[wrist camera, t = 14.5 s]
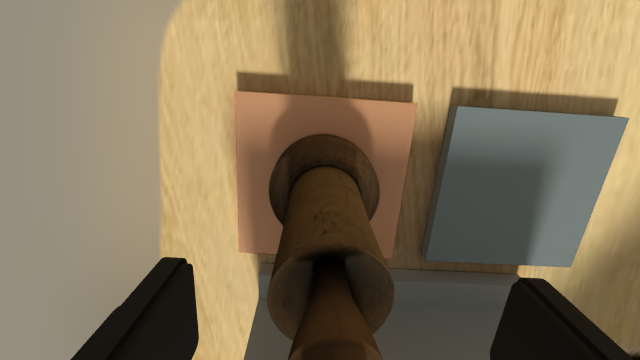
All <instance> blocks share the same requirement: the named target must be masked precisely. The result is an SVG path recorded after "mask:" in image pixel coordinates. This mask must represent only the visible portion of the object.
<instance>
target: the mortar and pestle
mask: <svg viewBox="0 0 640 360" xmlns="http://www.w3.org/2000/svg"><path fill="white" fill-rule="evenodd" d="M379 198H380V186H379V181H378V177H377V174H376V172H375V170H374V168H373V166H372V165H371V163H370V161H369V159H368V158H367V156H366V155H365V154H364V153H363V151H362V150H361V149H359V148H358V147H357V146H356V145H355V144H353V143H352V142H350V141H348V140H347V139H344V138H342V137H339V136H336V135H331V134H315V135H310V136H307V137H304V138H301V139H299V140H298V141H296V142H294V143H293V144H291V145H290V146H289V147H288V148H287V149H286V150H285V151H284V152H283V153H282V154H281V156H280V157H279V159H278V161H277V163H276V165H275V167H274V169H273V172H272V174H271V178H270V182H269V199H270V204H271V207H272V210H273V212H274V214H275V216H276V218H277V219H278V221H279V222H280V223H281V224H282V225H283V230H282V234H281V239H280V243H279V247H278V251H277V255H276V259H275V263H274V267H273V271H272V275H271V279H270V283H269V287H268V293H267V306H268V311H269V314H270V317H271V319H272V321H273V322H274V324H275V325H276V326H277V328H278V329H279V330H280V331H281V332H282V333H283V334H284V335H285V336H286V337H287V338H289V339H290V340H292V341H293V343H292V346H291V349H290V353H289V357H288V360H383V359H382V356H381V354H380V351H379V348H378V346H377V343H376V341H375V339H374V337H373V334H374V333H375V332H376V331H377V330H378V329H379V328H380V327H381V326H382V325H383V324H384V323H385V321H386V320H387V318H388V316H389V314H390V312H391V310H392V306H393V302H394V283H393V279H392V277H391V275H390V272H389V270H388V267H387V265H386V262H385V260H384V257H383V255H382V252H381V250H380V247H379V245H378V242H377V240H376V237H375V234H374V232H373V229H372V227H371V224H370V221H371V219H372V218H373V216H374V214H375V212H376V210H377V207H378V204H379Z"/></svg>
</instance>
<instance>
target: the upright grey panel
mask: <svg viewBox="0 0 640 360" xmlns="http://www.w3.org/2000/svg"><path fill="white" fill-rule="evenodd" d="M273 267H274V264H273V263H262V266H261V270H260V273H259V300H258V304H257V308H256V312H255V316H254V320H253V324H252V328H251V332H250V336H249V340H248V345H247V349H246V353H245V357H244V360H288V357H289V353H290V349H291V346H292V343H293V341H292V340H290V339H289V338H287V337H286V336H285V335H284V334H283V333H282V332H281V331H280V330H279V329H278V328H277V326H276V325H275V324H274V322H273V321H272V319H271V317H270V314H269V311H268V306H267V293H268V287H269V283H270V279H271V275H272V271H273ZM388 270H389V272H390V275H391V277H392V279H393V283H394V302H393V306H392V310H391V312H390V314H389V316H388V318H387V320H386V321H385V323H384V324H383V325H382V326H381V327H380V328H379V329H378V330H377V331H376V332H375V333H374V334H373V337H374V339H375V341H376V343H377V346H378V348H379V351H380V354H381V356H382V359H383V360H490V349H491V346H492V343H493V340H494V337H495V334H496V331H497V328H498V325H499V322H500V319H501V316H502V313H503V310H504V307H505V304H506V301H507V298H508V295H509V292H510V289H511V286H512V284H514V283H516V282H517V280H518V279H520V278H521V277H520V276H519V275H517V274H499V273H477V272H454V271H431V270H409V269H388Z"/></svg>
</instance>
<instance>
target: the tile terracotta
mask: <svg viewBox="0 0 640 360" xmlns="http://www.w3.org/2000/svg"><path fill="white" fill-rule="evenodd" d="M235 100H236V145H237V189H238V234H239V252H245V253H267V254H277V251H278V247H279V243H280V239H281V234H282V230H283V225H282V224H281V223H280V222H279V221H278V219H277V218H276V216H275V214H274V212H273V210H272V207H271V204H270V199H269V182H270V178H271V174H272V172H273V169H274V167H275V165H276V163H277V161H278V159H279V157H280V156H281V154H282V153H283V152H284V151H285V150H286V149H287V148H288V147H289V146H290V145H291V144H293V143H294V142H296V141H298V140H299V139H301V138H304V137H307V136H310V135H315V134H331V135H336V136H339V137H342V138H344V139H347V140H348V141H350V142H352V143H353V144H355V145H356V146H357V147H358V148H359V149H361V150H362V151H363V153H364V154H365V155H366V156H367V158H368V159H369V161H370V163H371V165H372V166H373V168H374V170H375V172H376V174H377V177H378V181H379V186H380V198H379V204H378V207H377V210H376V212H375V214H374V216H373V218H372V219H371V221H370V224H371V227H372V229H373V232H374V234H375V237H376V240H377V242H378V245H379V247H380V250H381V252H382V255H383V257H384V259H392V255H393V249H394V243H395V237H396V231H397V225H398V219H399V213H400V207H401V201H402V195H403V189H404V183H405V177H406V171H407V165H408V159H409V153H410V147H411V141H412V135H413V129H414V123H415V117H416V111H417V105H418V104H417V103H413V102H399V101H385V100H370V99H356V98H341V97H327V96H312V95H297V94H283V93H268V92H254V91H235Z"/></svg>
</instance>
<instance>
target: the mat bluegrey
mask: <svg viewBox="0 0 640 360" xmlns="http://www.w3.org/2000/svg"><path fill="white" fill-rule="evenodd" d="M628 120H629V118H624V117H616V116H604V115H589V114H574V113H560V112H545V111H531V110H516V109H501V108H487V107H472V106H458V105H451V107H450V111H449V116H448V121H447V126H446V131H445V136H444V141H443V146H442V151H441V156H440V161H439V166H438V171H437V176H436V181H435V186H434V191H433V196H432V201H431V206H430V211H429V216H428V221H427V225H426V230H425V235H424V240H423V245H422V250H421V254H422V256H423V257H424V259H425V261H442V262H464V263H486V264H508V265H530V266H552V267H571V265H572V262H573V260H574V257H575V255H576V252H577V250H578V247H579V245H580V242H581V240H582V237H583V234H584V232H585V229H586V227H587V224H588V222H589V219H590V217H591V214H592V212H593V209H594V206H595V204H596V201H597V199H598V196H599V194H600V191H601V189H602V186H603V184H604V181H605V178H606V176H607V173H608V171H609V168H610V166H611V163H612V161H613V158H614V156H615V153H616V150H617V148H618V145H619V143H620V140H621V138H622V135H623V133H624V130H625V128H626V125H627V123H628Z"/></svg>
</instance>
